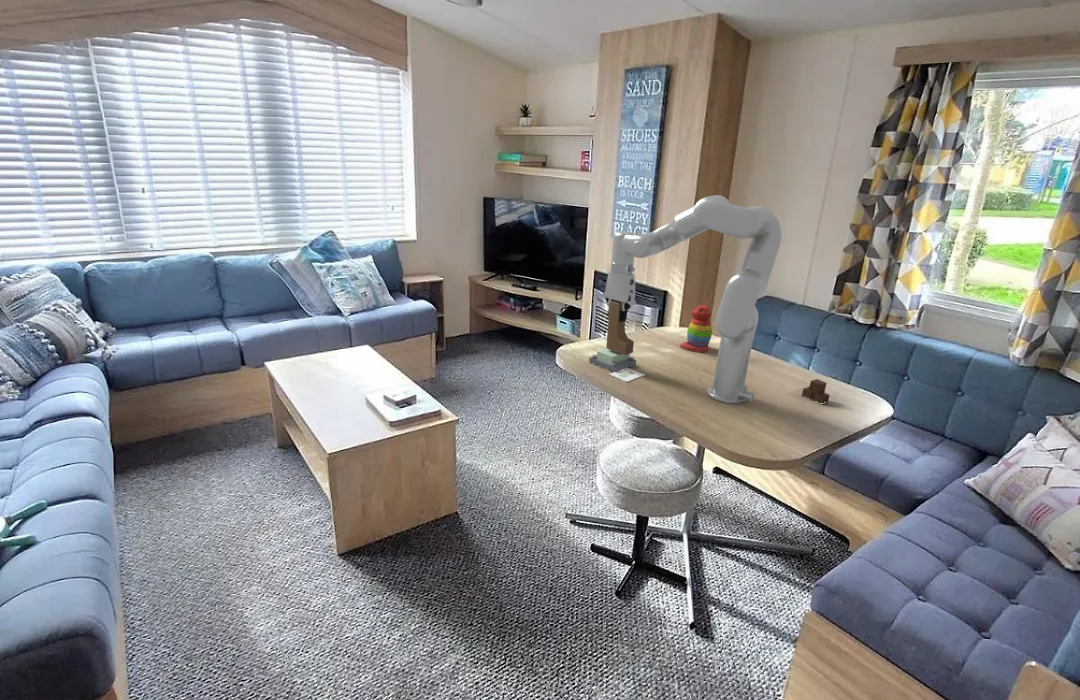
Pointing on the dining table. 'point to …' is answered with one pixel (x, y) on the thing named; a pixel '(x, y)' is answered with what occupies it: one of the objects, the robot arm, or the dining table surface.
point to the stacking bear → (699, 330)
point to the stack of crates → (816, 391)
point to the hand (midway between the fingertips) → (617, 318)
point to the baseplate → (614, 365)
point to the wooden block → (617, 331)
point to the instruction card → (627, 374)
